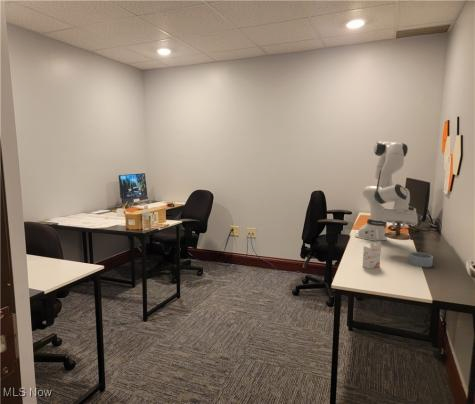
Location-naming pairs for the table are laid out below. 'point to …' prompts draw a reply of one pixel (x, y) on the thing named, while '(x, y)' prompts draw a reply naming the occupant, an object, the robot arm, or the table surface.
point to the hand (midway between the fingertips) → (398, 228)
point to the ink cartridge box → (372, 255)
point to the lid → (397, 234)
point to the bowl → (420, 259)
